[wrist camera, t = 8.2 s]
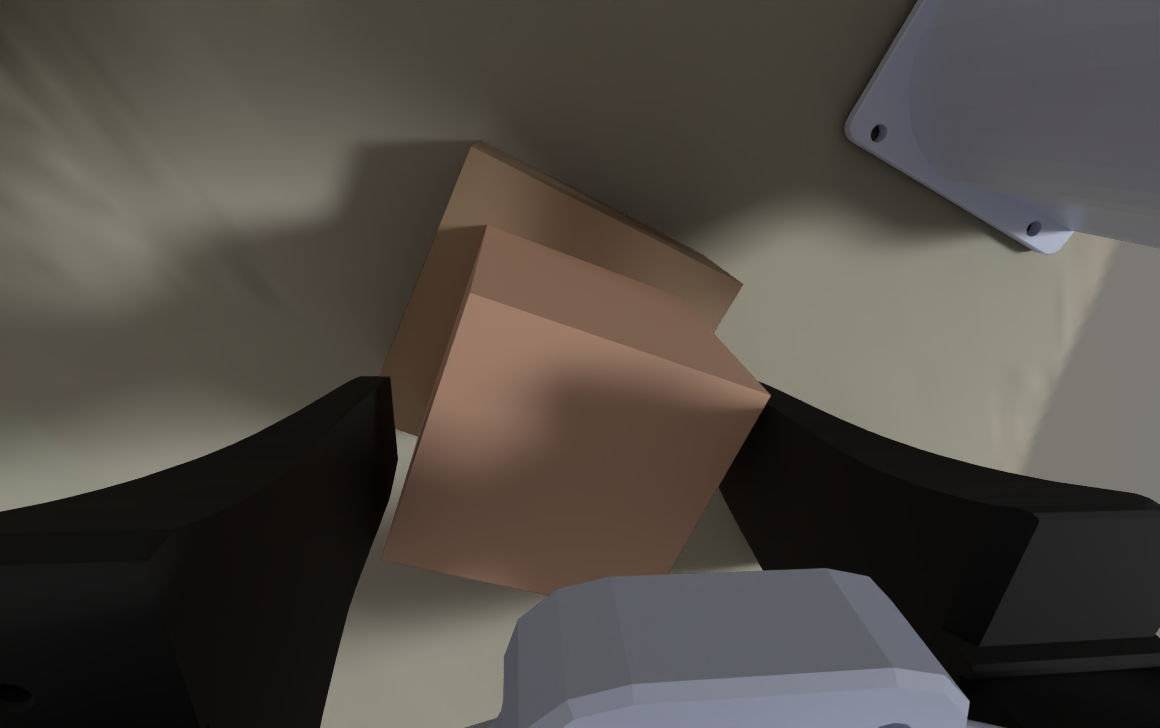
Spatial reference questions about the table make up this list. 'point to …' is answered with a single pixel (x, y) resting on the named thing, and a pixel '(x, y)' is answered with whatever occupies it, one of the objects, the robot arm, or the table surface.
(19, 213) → the table surface
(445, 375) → the terracotta block
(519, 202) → the walnut block
